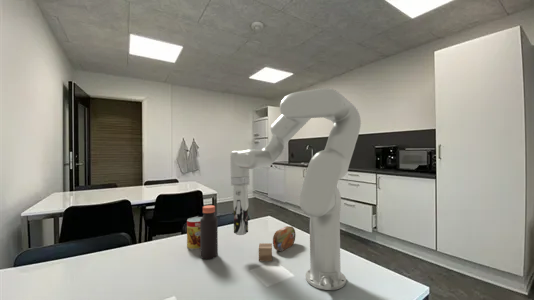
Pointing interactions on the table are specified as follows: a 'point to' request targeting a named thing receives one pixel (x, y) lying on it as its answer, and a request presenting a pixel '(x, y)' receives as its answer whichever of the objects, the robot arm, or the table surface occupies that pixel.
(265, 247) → the tan cube
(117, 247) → the table surface
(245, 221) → the beverage can
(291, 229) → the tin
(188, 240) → the canned food
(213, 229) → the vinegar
